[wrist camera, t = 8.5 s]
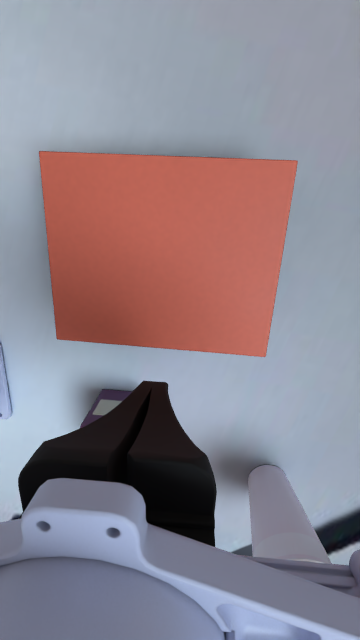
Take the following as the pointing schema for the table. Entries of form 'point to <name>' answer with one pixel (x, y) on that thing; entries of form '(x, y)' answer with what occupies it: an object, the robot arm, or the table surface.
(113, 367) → the table surface
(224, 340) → the lunchbox lid
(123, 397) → the juice box
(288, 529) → the smoothie
